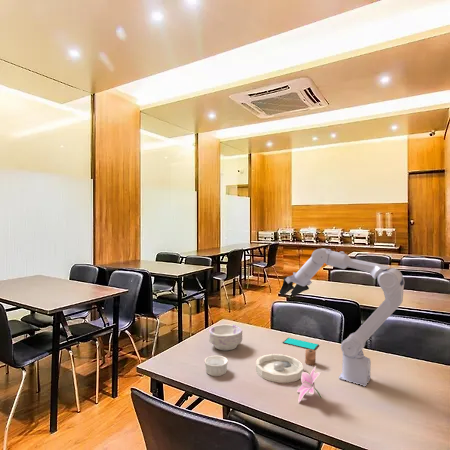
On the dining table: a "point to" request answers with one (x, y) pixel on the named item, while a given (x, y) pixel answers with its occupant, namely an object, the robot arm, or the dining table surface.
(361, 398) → the dining table surface
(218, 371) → the ramekin
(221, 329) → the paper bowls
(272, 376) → the ring tray
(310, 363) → the pepper mill
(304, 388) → the lily
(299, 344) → the smartphone
